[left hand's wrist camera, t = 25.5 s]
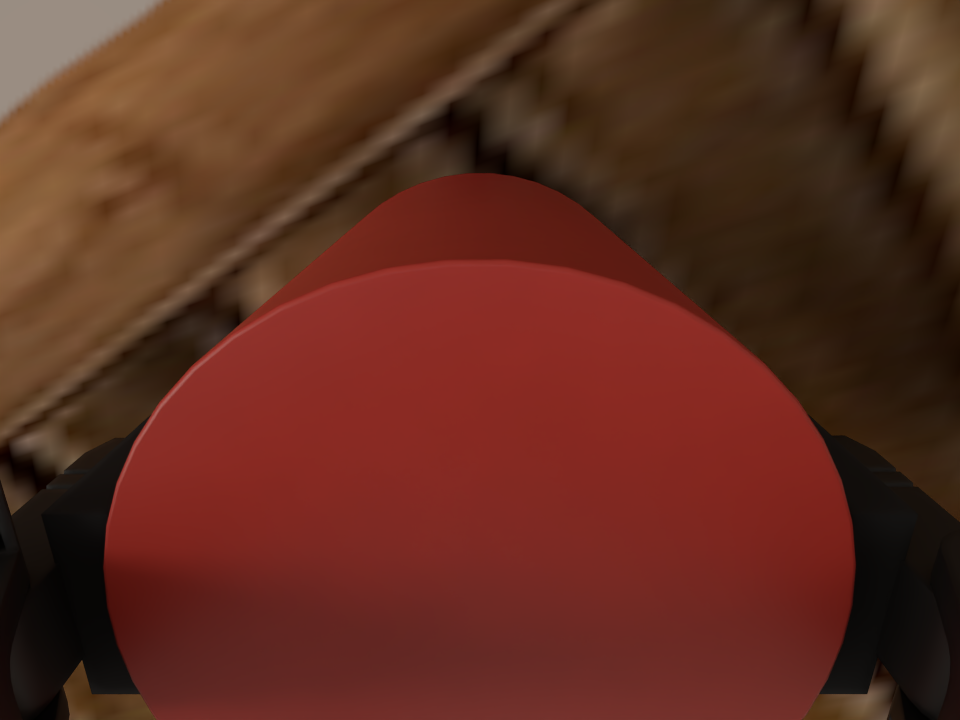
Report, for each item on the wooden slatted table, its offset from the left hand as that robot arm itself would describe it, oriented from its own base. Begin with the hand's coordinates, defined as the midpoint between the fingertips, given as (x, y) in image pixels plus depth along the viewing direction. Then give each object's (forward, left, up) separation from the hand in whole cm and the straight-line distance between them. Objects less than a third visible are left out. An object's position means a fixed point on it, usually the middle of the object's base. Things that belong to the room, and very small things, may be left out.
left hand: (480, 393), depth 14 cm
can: (0, 0, -3) cm, 3 cm away
